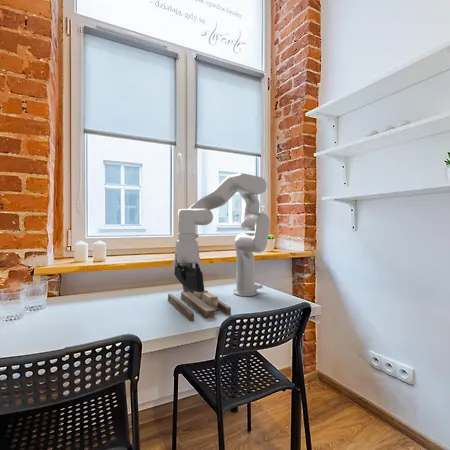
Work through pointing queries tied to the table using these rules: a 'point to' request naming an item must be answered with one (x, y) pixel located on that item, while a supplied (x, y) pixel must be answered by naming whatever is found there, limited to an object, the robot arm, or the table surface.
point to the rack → (196, 306)
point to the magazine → (191, 278)
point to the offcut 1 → (200, 294)
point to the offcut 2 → (210, 300)
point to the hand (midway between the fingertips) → (187, 278)
